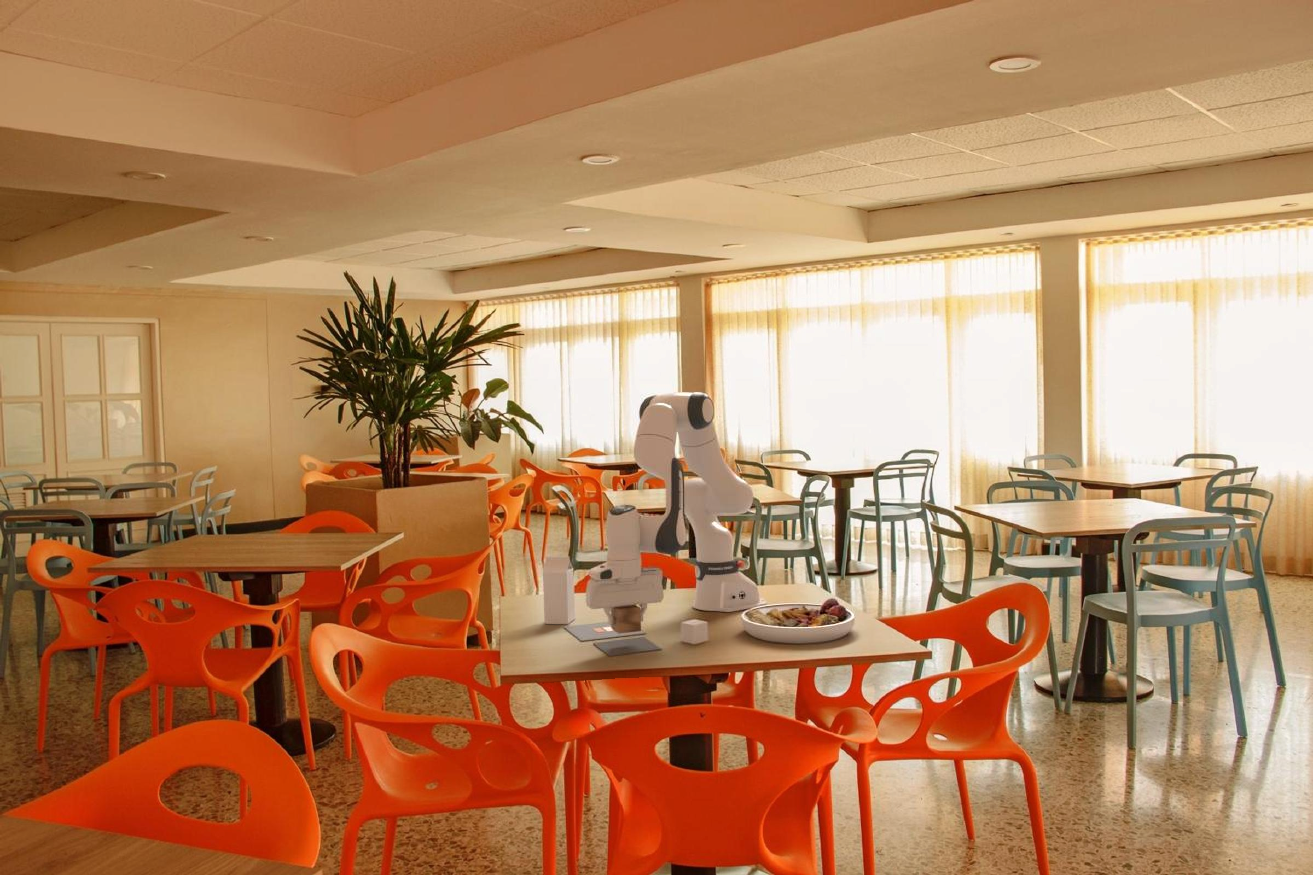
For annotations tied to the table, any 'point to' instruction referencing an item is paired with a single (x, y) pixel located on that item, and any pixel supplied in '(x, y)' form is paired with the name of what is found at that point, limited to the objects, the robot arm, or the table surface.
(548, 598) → the milk carton
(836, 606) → the bowl
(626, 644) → the mat
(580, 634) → the tile
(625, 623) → the walnut block
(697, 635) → the beige block
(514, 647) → the table surface
